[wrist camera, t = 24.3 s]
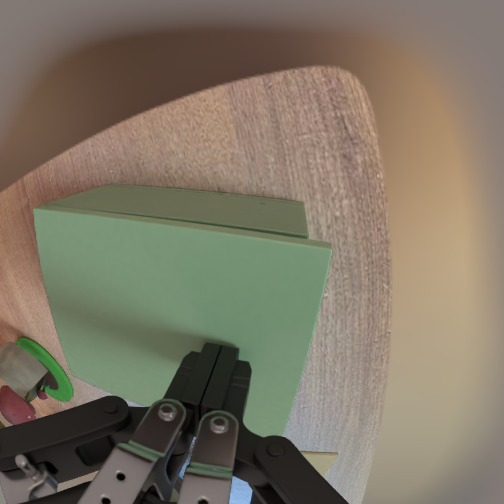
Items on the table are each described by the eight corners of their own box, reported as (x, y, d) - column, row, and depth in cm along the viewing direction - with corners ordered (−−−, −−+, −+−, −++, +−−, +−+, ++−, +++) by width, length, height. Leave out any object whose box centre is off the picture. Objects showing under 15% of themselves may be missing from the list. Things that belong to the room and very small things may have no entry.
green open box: (304, 202, 17) (309, 234, 11) (278, 352, 22) (270, 421, 15) (109, 183, 19) (42, 204, 12) (120, 320, 23) (77, 368, 17)
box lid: (331, 242, 11) (333, 249, 10) (283, 430, 15) (281, 440, 14) (42, 204, 12) (32, 208, 12) (77, 369, 17) (71, 375, 16)
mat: (338, 453, 26) (338, 455, 26) (315, 484, 30) (315, 486, 29) (251, 445, 27) (250, 448, 27) (244, 477, 31) (243, 480, 30)
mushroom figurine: (96, 404, 29) (41, 488, 15) (47, 397, 32) (-1, 459, 18) (44, 328, 26) (-38, 408, 12) (5, 334, 29) (-57, 392, 15)
